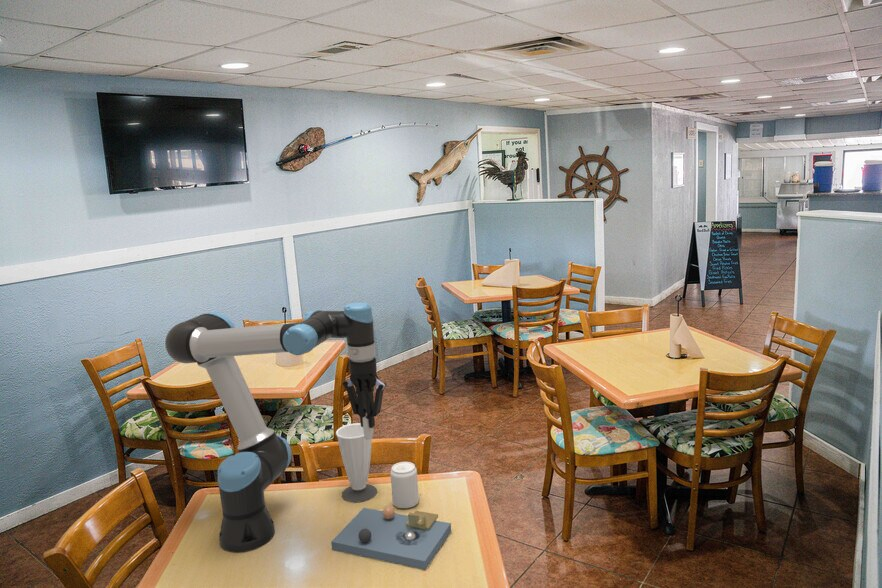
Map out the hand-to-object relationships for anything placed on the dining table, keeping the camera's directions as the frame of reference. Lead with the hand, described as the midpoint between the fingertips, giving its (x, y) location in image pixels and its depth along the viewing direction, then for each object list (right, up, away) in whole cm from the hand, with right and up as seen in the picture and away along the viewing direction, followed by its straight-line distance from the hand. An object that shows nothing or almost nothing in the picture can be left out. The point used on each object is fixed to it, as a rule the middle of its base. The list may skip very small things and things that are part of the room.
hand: (368, 437), depth 175 cm
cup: (-6, -23, +22) cm, 32 cm away
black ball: (0, -24, -9) cm, 26 cm away
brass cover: (+15, -24, -1) cm, 28 cm away
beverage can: (+10, -24, +14) cm, 29 cm away
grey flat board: (+7, -28, -5) cm, 29 cm away
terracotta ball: (+5, -22, +1) cm, 23 cm away
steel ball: (+12, -26, -7) cm, 30 cm away
